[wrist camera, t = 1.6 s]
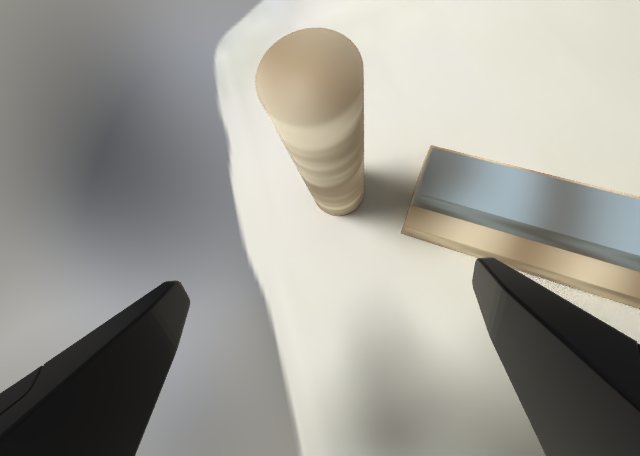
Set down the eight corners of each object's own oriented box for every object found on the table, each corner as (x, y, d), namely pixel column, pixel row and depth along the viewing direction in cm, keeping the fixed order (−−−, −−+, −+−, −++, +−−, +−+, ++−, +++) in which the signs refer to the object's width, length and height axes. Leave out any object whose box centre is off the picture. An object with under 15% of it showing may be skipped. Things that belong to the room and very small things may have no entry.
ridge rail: (666, 223, 20) (766, 201, 15) (650, 312, 19) (750, 319, 14) (423, 160, 23) (440, 125, 18) (400, 233, 22) (410, 216, 17)
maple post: (345, 225, 23) (322, 143, 10) (303, 199, 24) (235, 94, 11) (373, 182, 23) (385, 52, 10) (331, 158, 24) (294, 13, 11)
